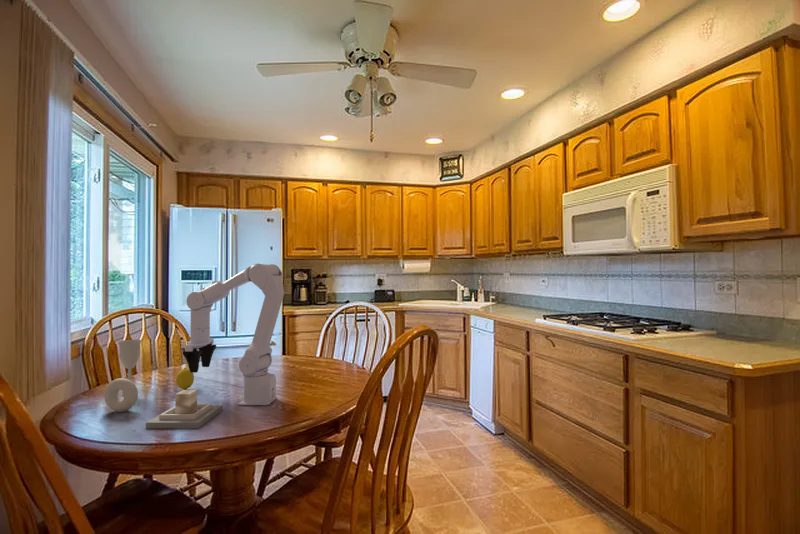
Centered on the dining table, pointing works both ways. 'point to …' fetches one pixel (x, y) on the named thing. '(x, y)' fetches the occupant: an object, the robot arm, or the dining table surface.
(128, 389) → the donut
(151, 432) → the dining table surface
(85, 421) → the dining table surface
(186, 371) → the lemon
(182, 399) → the block
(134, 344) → the chalice
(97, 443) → the dining table surface
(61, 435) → the dining table surface
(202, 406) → the base
